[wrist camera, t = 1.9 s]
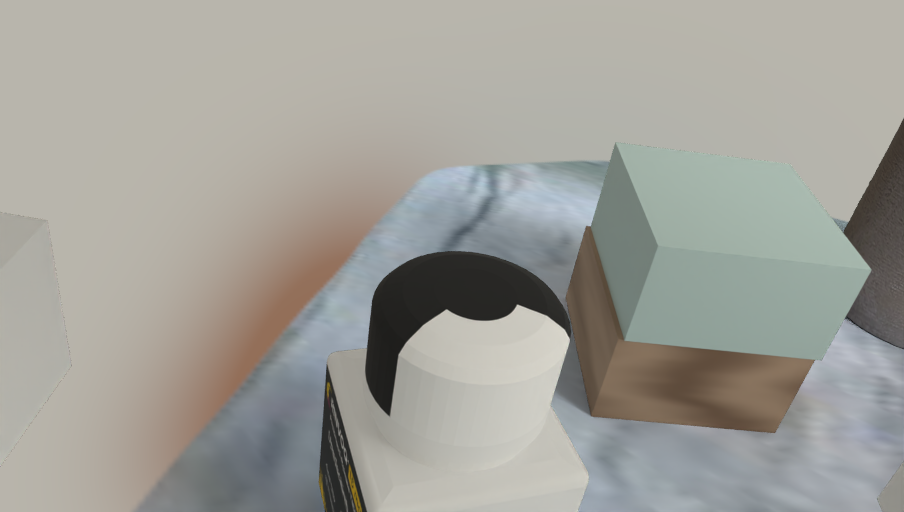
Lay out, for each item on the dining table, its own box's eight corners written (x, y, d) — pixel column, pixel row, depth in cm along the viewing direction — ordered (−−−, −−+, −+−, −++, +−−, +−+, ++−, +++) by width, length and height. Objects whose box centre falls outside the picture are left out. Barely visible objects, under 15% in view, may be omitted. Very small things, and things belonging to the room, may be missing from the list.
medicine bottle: (316, 480, 32) (333, 232, 25) (481, 453, 34) (538, 221, 27) (354, 651, 26) (388, 395, 19) (547, 605, 29) (639, 362, 22)
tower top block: (753, 245, 42) (789, 164, 39) (821, 360, 35) (871, 269, 32) (590, 227, 41) (615, 142, 38) (624, 340, 34) (658, 245, 31)
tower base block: (718, 316, 45) (749, 245, 42) (773, 436, 38) (815, 359, 35) (564, 300, 44) (586, 226, 41) (590, 419, 37) (618, 339, 34)
